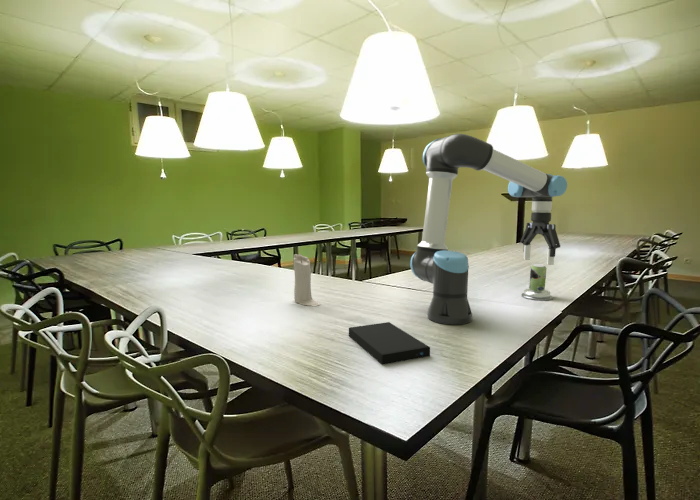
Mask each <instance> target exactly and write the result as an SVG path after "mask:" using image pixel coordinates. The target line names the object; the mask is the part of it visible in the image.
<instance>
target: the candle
mask: <svg viewBox="0 0 700 500" xmlns="http://www.w3.org/2000/svg"><path fill="white" fill-rule="evenodd" d="M293 270H294V290H293V291H294V292H293V293H294V295H293V296H294V297H293V298H294V302H295V303H296V304H298V305H299V304H300V305H303V306H309V307H317V306H320V305H321V304H320V303H319V302H318V301H317V300H315V299H313V296H312V287H311V286H312V284H311V283H312V282H311V280H312V279H311V277H312V276H311V274H312V271H311V260H310V259H309V256H303V254H297V253H295V254H293Z"/></svg>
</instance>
